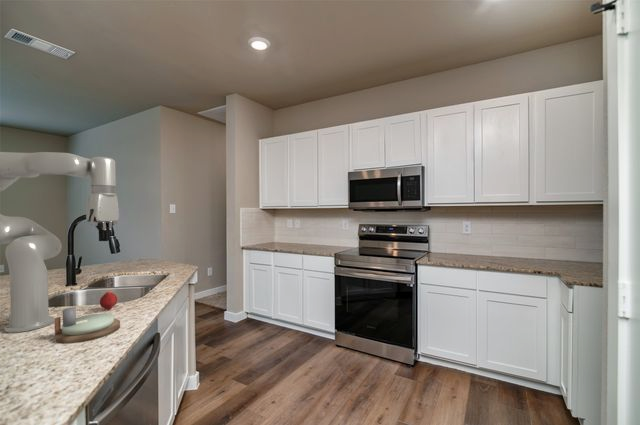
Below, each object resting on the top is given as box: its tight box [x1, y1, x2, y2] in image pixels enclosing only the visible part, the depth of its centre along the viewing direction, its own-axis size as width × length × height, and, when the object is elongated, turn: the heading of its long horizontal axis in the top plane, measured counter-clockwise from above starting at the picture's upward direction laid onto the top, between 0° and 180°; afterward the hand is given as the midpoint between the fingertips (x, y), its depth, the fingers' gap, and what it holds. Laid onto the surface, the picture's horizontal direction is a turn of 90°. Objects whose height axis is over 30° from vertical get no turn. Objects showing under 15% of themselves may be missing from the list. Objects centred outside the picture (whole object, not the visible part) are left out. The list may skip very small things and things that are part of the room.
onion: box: [99, 289, 118, 311], centre depth 121 cm, size 6×6×8 cm
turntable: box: [61, 307, 115, 335], centre depth 98 cm, size 14×14×7 cm
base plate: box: [54, 316, 121, 344], centre depth 98 cm, size 17×17×6 cm
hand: (104, 240), depth 110 cm, fingers closed
